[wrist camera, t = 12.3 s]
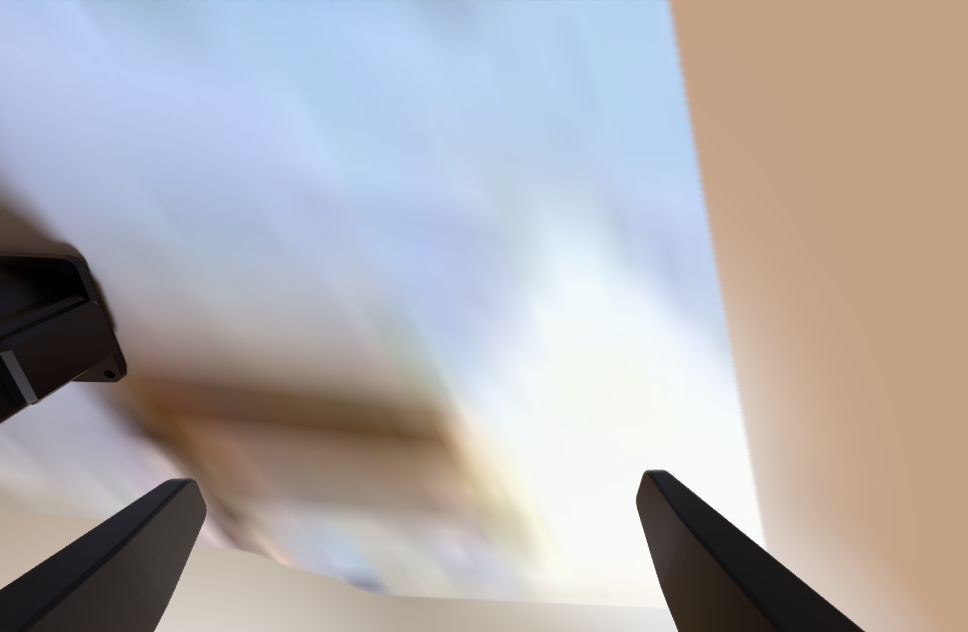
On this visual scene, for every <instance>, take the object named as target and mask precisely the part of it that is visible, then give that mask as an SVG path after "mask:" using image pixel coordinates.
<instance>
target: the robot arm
mask: <svg viewBox="0 0 968 632" xmlns="http://www.w3.org/2000/svg"><path fill="white" fill-rule="evenodd" d="M67 265H68V266H70V267H71V269H72V270H70V269H69V268H68V266H67ZM112 371H113V372H112ZM126 374H127V370H126V367H125V365H124V362H123V359H122V357H121V354H120V352H119V349H118V347H117V344H116V342H115V339H114V337H113V334H112V332H111V329H110V327H109V324H108V322H107V319H106V316H105V314H104V311H103V309H102V306H101V304H100V301H99V299H98V296H97V294H96V291H95V289H94V286H93V284H92V281H91V278H90V276H89V273H88V271H87V268H86V266H85V265H84V263H83V262H82V261H81V260H80V259H78V258H76V257H74V256H68V255H48V254H27V253H7V252H0V424H1V423H3V422H4V421H6V420H8V419H9V418H11V417H12V416H14V415H15V414H17V413H18V412H20V411H22V410H23V409H25V408H26V407H28V406H29V405H34V404H37V403H39V402H40V401H42V400H43V399H45V398H46V397H48V396H49V395H51V394H52V393H54V392H55V391H57V390H59V389H60V388H62V387H63V386H65V385H66V384H68V383H69V382H71V381H75V382H117V381H119V380H120V379H122V378H123V377H125V376H126ZM636 505H637V510H638V513H639V517H640V520H641V523H642V527H643V530H644V533H645V537H646V540H647V543H648V547H649V550H650V554H651V557H652V560H653V564H654V567H655V570H656V574H657V577H658V580H659V583H660V586H661V589H662V592H663V594H664V597H665V600H666V602H667V605H668V607H669V610H670V612H671V615H672V617H673V620H674V622H675V625H676V627H677V630H678V632H865V631H864V630H862V629H861V628H860V627H859V626H857V625H856V624H855V623H854V622H853V621H851V620H850V619H849V618H848V617H846V616H845V615H844V614H843V613H841V612H840V611H839V610H838V609H836V608H835V607H834V606H833V605H832V604H830V603H829V602H828V601H827V600H825V599H824V598H823V597H822V596H820V595H819V594H818V593H817V592H816V591H814V590H813V589H812V588H810V587H809V586H808V585H807V584H806V583H804V582H803V581H802V580H801V579H800V578H798V577H797V576H796V575H795V574H793V573H792V572H791V571H790V570H788V569H787V568H786V567H785V566H784V565H782V564H781V563H780V562H778V561H777V560H776V559H775V558H773V557H772V556H771V555H770V554H769V553H768V552H766V551H765V550H764V549H763V548H761V547H760V546H759V545H758V544H756V543H755V542H754V541H753V540H751V539H750V538H749V537H748V536H747V535H745V534H744V533H743V532H742V531H740V530H739V529H738V528H737V527H735V526H734V525H733V524H732V523H731V522H729V521H728V520H727V519H726V518H724V517H723V516H722V515H721V514H719V513H718V512H717V511H716V510H715V509H713V508H712V507H711V506H710V505H708V504H707V503H706V502H705V501H703V500H702V499H701V498H700V497H699V496H697V495H696V494H695V493H694V492H692V491H691V490H690V489H689V488H687V487H686V486H685V485H684V484H682V483H681V482H680V481H679V480H678V479H676V478H675V477H674V476H673V475H671V474H670V473H669V472H667V471H665V470H646V471H645V472H644V473H643V476H642V479H641V483H640V486H639V489H638V493H637V496H636ZM205 517H206V504H205V502H204V499H203V497H202V495H201V492H200V490H199V487H198V485H197V483H196V481H195V480H193V479H190V478H186V479H170V480H167V481H165V482H164V483H162V484H160V485H159V486H157V487H156V488H154V489H153V490H151V491H150V492H148V493H147V494H145V495H144V496H142V497H141V498H139V499H138V500H136V501H135V502H133V503H132V504H130V505H129V506H127V507H126V508H124V509H122V510H121V511H119V512H118V513H116V514H115V515H113V516H112V517H110V518H109V519H107V520H106V521H104V522H103V523H101V524H100V525H98V526H97V527H95V528H94V529H92V530H91V531H89V532H88V533H86V534H84V535H83V536H81V537H80V538H78V539H77V540H75V541H74V542H72V543H71V544H69V545H68V546H66V547H65V548H63V549H62V550H60V551H59V552H57V553H56V554H54V555H53V556H51V557H50V558H48V559H46V560H45V561H43V562H42V563H40V564H39V565H37V566H36V567H35V568H33V569H31V570H30V571H28V572H27V573H25V574H24V575H22V576H21V577H19V578H18V579H16V580H15V581H13V582H12V583H10V584H8V585H7V586H5V587H4V588H3V589H1V590H0V632H154V631H155V629H156V627H157V625H158V623H159V621H160V619H161V617H162V615H163V613H164V611H165V609H166V608H167V605H168V603H169V601H170V599H171V597H172V595H173V592H174V590H175V588H176V585H177V583H178V581H179V578H180V576H181V574H182V571H183V569H184V567H185V565H186V562H187V560H188V558H189V555H190V553H191V550H192V548H193V546H194V544H195V541H196V539H197V537H198V534H199V532H200V530H201V527H202V525H203V523H204V520H205Z"/></svg>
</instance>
